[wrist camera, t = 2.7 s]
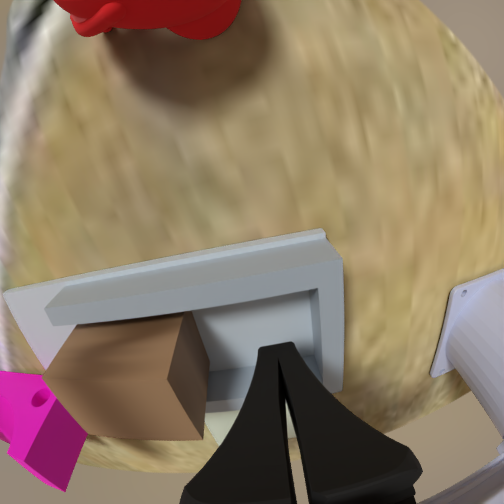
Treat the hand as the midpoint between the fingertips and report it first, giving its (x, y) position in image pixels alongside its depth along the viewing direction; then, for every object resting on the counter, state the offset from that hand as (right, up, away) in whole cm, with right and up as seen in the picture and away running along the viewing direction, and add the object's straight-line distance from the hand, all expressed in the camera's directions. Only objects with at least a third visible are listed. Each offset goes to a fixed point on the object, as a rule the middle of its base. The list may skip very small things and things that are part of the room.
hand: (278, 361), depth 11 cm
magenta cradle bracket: (-20, -8, +6) cm, 22 cm away
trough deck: (-7, 0, +3) cm, 7 cm away
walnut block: (-7, 0, +3) cm, 7 cm away
